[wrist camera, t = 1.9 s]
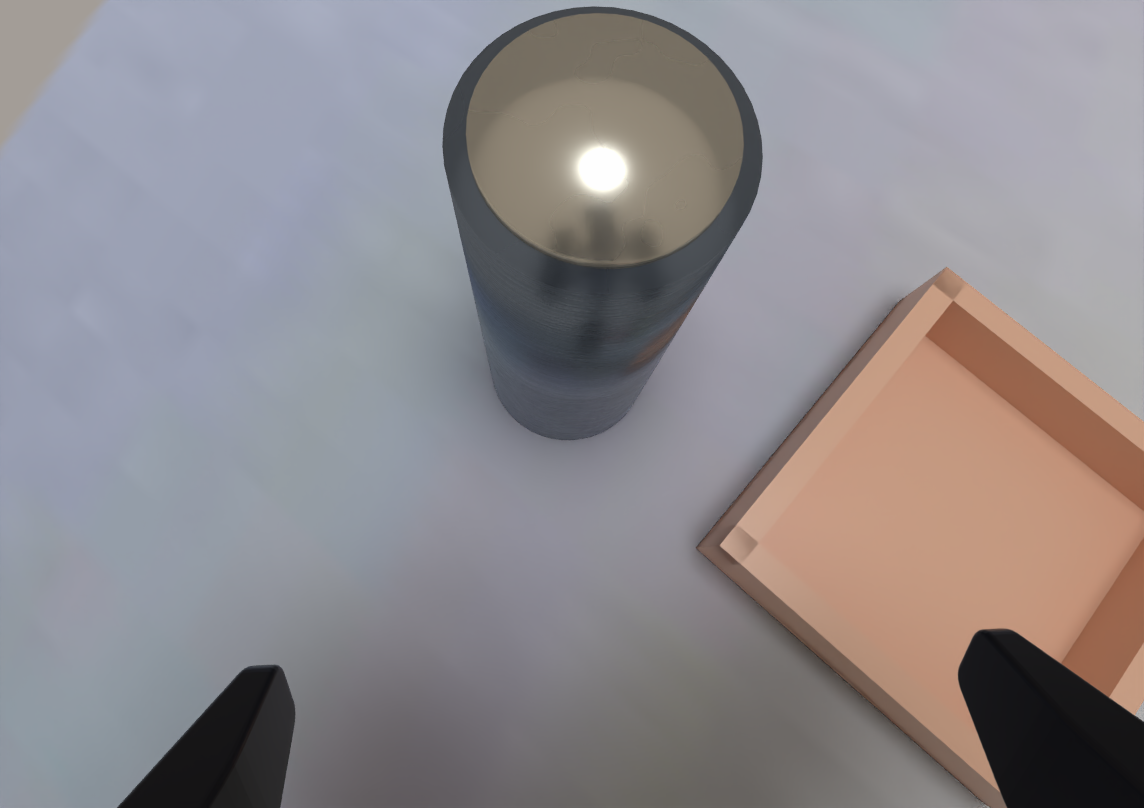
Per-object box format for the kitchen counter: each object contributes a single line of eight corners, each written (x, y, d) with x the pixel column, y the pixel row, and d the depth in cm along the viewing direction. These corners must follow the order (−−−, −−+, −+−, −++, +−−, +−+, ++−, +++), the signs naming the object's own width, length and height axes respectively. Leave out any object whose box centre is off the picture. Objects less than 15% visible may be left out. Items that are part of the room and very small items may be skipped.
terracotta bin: (985, 804, 22) (1056, 842, 19) (695, 548, 23) (719, 545, 20) (1171, 519, 24) (1259, 513, 21) (899, 301, 25) (946, 267, 22)
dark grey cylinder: (574, 472, 23) (623, 354, 10) (459, 369, 24) (369, 136, 11) (673, 360, 24) (832, 126, 11) (561, 265, 25) (590, -61, 12)
